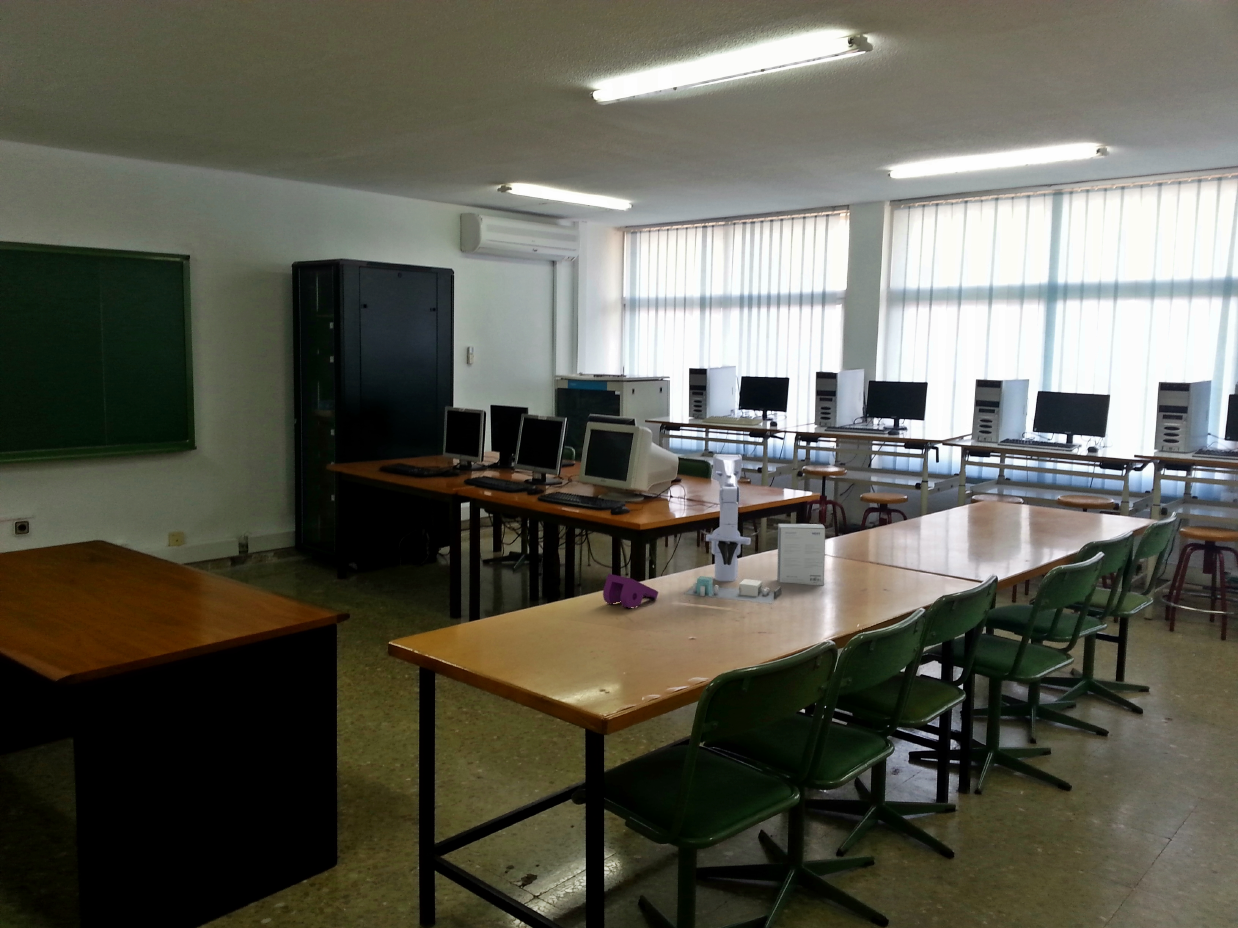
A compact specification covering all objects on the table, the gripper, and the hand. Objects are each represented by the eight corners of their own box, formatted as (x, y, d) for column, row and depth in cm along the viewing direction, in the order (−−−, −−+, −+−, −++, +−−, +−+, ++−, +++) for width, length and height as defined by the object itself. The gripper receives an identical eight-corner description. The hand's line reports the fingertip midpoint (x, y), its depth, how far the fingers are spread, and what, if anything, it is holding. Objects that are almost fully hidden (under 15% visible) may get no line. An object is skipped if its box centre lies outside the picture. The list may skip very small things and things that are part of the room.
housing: (744, 589, 307) (744, 579, 306) (762, 591, 304) (762, 580, 304) (738, 594, 300) (739, 583, 300) (757, 596, 298) (757, 585, 298)
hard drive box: (821, 580, 324) (823, 524, 322) (824, 586, 316) (826, 528, 314) (776, 579, 325) (778, 522, 323) (777, 584, 318) (779, 526, 316)
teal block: (700, 591, 304) (700, 576, 303) (712, 592, 302) (712, 577, 302) (696, 593, 300) (697, 578, 299) (708, 595, 298) (709, 579, 298)
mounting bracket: (633, 614, 300) (600, 599, 287) (641, 589, 302) (608, 573, 289) (656, 619, 294) (623, 605, 281) (664, 594, 296) (631, 578, 283)
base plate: (697, 586, 313) (697, 575, 313) (781, 595, 303) (781, 584, 302) (683, 596, 300) (683, 585, 299) (770, 606, 289) (771, 594, 288)
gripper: (703, 523, 302) (702, 564, 304) (747, 526, 297) (746, 568, 298) (709, 520, 308) (708, 560, 310) (752, 523, 303) (751, 564, 305)
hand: (727, 564), depth 304 cm, fingers closed
